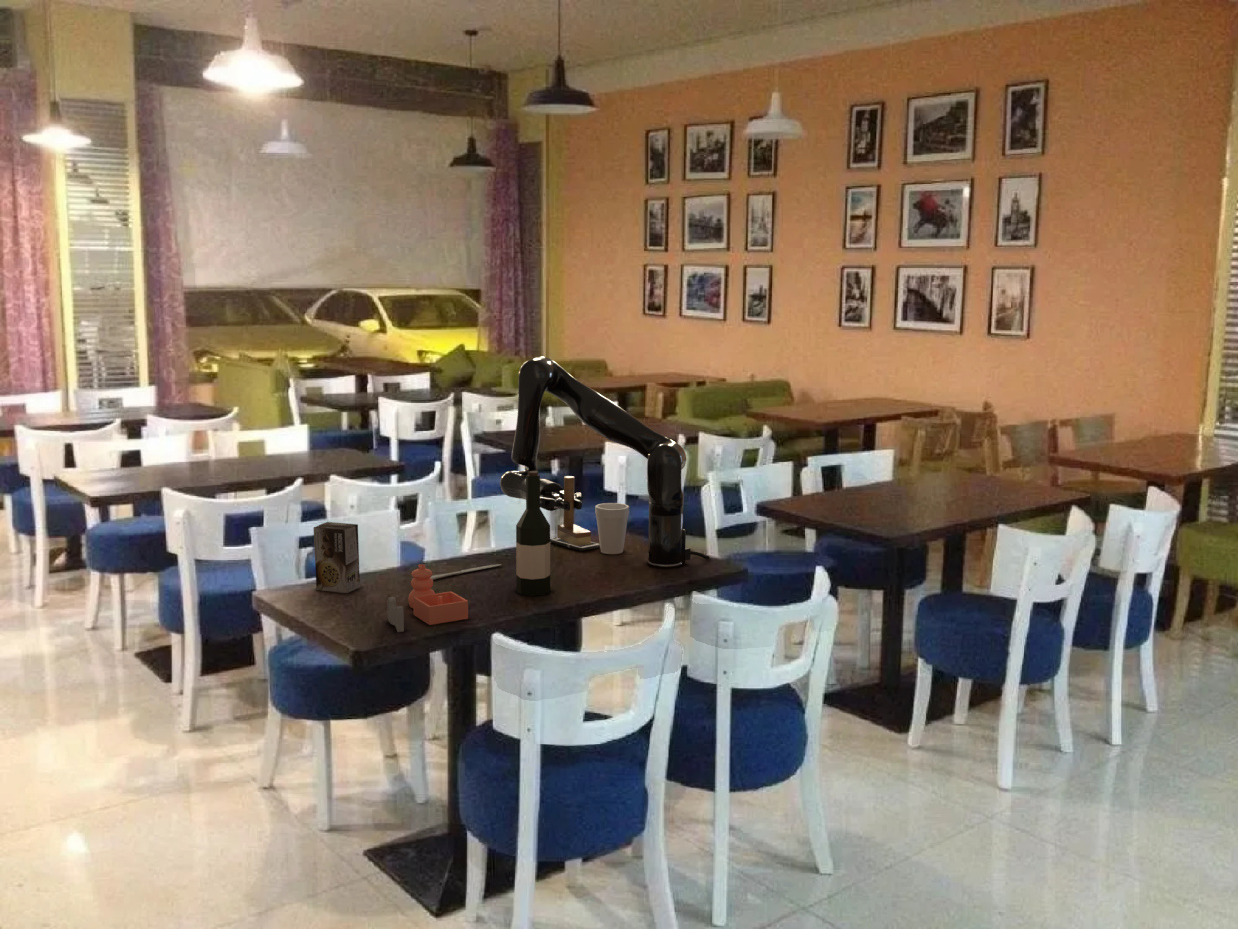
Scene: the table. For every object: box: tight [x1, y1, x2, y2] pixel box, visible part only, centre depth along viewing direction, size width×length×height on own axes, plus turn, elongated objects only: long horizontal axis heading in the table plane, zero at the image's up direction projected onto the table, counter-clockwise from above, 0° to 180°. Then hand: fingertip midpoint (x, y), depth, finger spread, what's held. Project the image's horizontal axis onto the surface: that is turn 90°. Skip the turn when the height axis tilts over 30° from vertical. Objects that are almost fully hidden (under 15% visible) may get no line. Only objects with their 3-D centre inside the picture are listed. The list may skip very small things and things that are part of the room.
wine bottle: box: [515, 470, 551, 597], centre depth 284 cm, size 8×8×30 cm
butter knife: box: [430, 564, 502, 581], centre depth 303 cm, size 1×24×3 cm
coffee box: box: [312, 521, 361, 594], centre depth 285 cm, size 9×6×16 cm
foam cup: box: [594, 502, 630, 555], centre depth 326 cm, size 10×9×13 cm
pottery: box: [407, 563, 469, 626], centre depth 268 cm, size 18×10×10 cm, turn 33°
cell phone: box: [550, 537, 600, 552], centre depth 334 cm, size 8×15×1 cm, turn 43°
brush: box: [556, 475, 592, 546], centre depth 294 cm, size 10×4×16 cm, turn 31°
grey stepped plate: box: [386, 596, 405, 633], centre depth 258 cm, size 6×1×10 cm
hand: (574, 506), depth 294 cm, fingers closed on brush, 2 cm apart
